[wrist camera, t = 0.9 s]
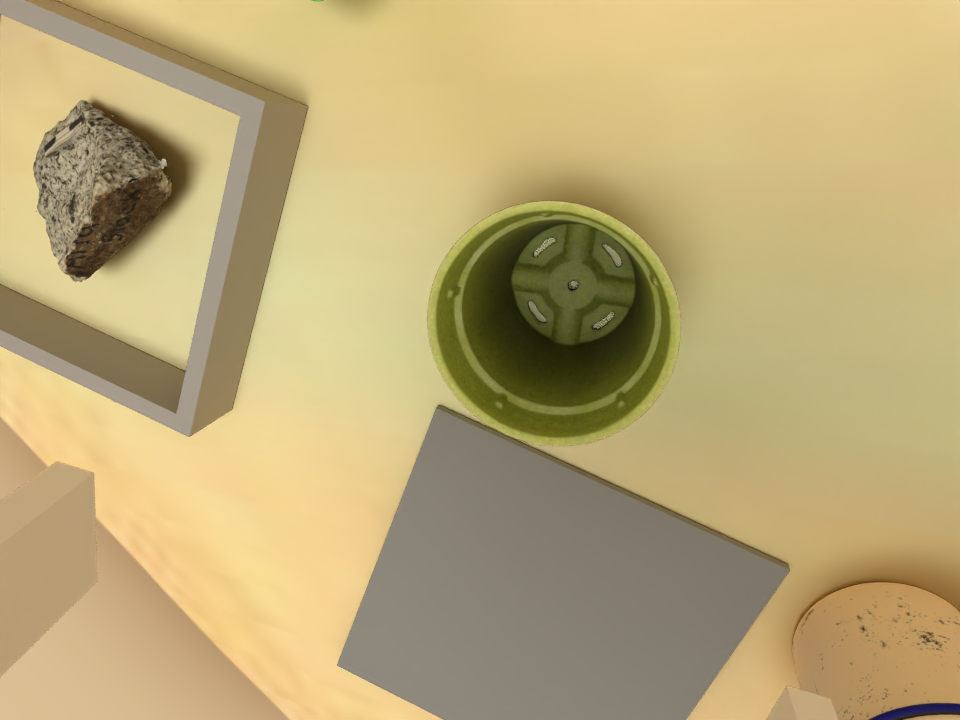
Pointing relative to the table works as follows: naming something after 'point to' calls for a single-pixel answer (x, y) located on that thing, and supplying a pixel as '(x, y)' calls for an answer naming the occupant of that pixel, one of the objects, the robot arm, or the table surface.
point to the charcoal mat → (547, 591)
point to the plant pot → (553, 324)
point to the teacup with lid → (882, 653)
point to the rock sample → (95, 188)
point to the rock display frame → (235, 251)
